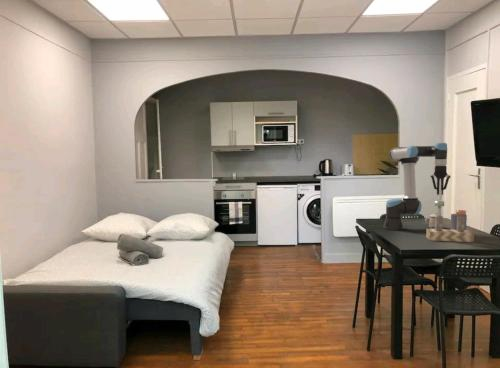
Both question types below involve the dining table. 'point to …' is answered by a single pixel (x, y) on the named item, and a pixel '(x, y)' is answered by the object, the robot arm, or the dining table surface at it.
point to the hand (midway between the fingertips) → (439, 199)
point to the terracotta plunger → (461, 213)
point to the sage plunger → (439, 206)
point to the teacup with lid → (432, 220)
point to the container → (454, 221)
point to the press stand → (450, 232)
